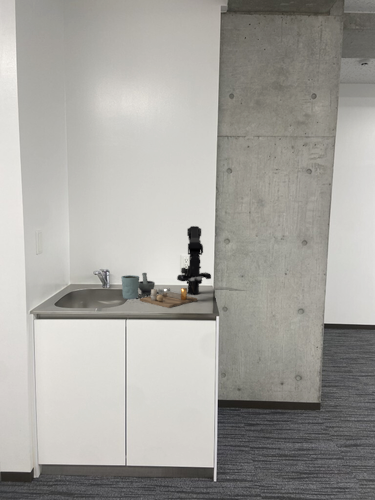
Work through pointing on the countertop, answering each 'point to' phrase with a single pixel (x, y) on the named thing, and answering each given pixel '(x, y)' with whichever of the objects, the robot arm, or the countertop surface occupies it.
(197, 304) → the countertop surface
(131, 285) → the teal ceramic pot
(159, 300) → the dough ball
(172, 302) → the board
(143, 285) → the mortar and pestle
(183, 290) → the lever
